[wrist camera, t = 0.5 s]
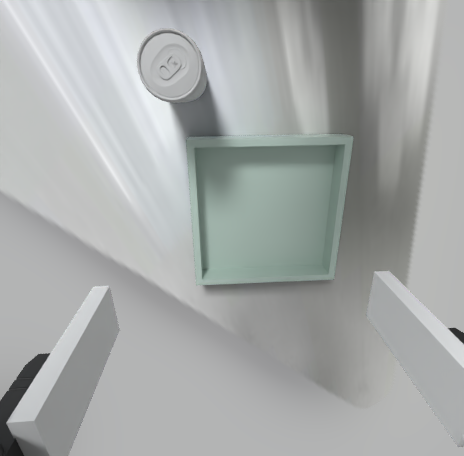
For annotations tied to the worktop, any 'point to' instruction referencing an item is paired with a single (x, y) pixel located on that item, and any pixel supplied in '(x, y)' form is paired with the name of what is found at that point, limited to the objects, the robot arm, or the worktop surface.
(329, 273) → the tray
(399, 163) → the worktop surface
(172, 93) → the beverage can
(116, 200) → the worktop surface
